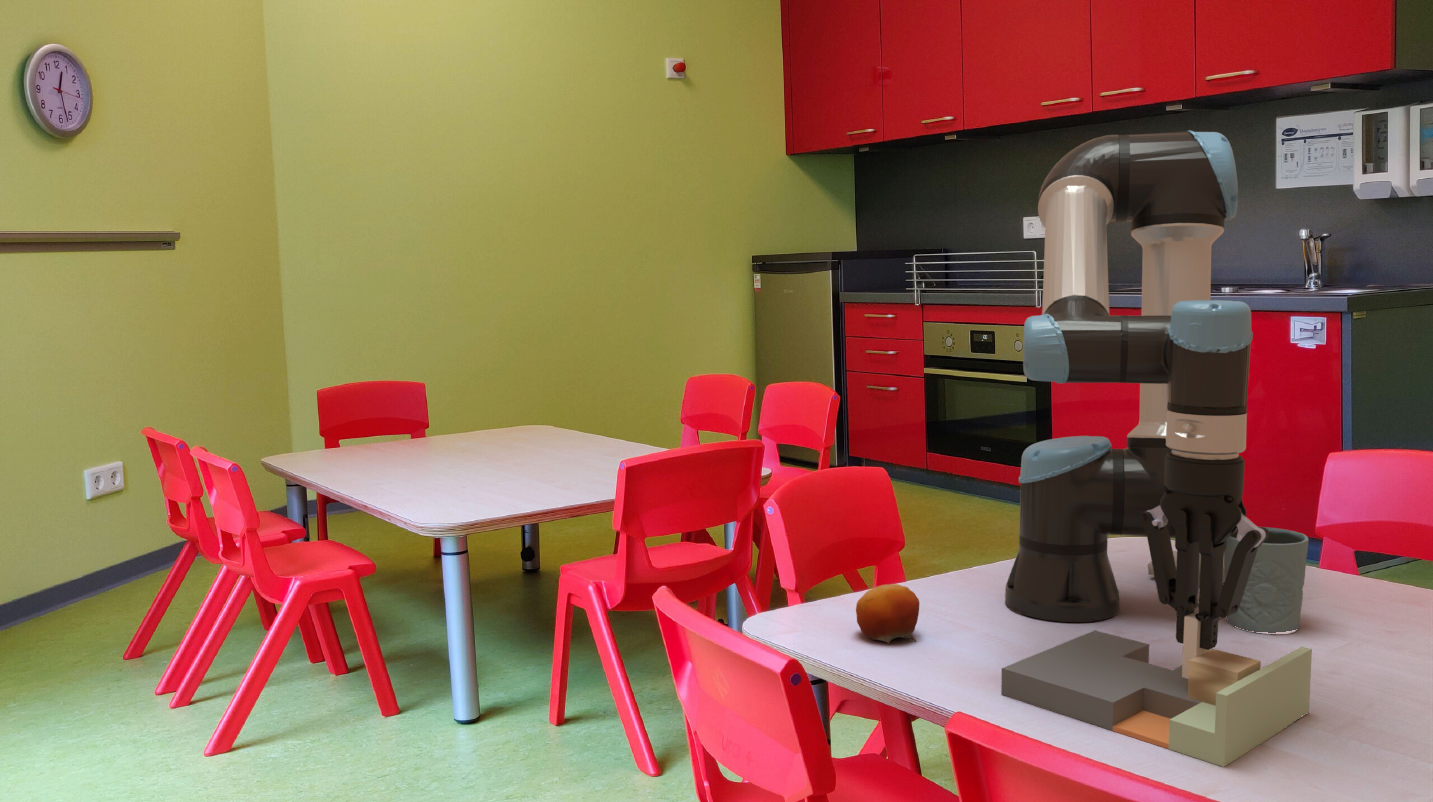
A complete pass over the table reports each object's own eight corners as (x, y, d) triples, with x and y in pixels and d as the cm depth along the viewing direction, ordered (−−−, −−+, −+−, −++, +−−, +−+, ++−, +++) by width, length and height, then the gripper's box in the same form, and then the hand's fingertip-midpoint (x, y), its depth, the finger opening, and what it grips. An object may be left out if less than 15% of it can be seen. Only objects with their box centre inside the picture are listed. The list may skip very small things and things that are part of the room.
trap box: (1001, 694, 127) (1002, 633, 127) (1094, 654, 140) (1095, 598, 139) (1223, 766, 109) (1226, 695, 108) (1308, 713, 121) (1311, 648, 120)
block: (1187, 697, 118) (1188, 659, 117) (1211, 685, 121) (1212, 648, 121) (1235, 711, 114) (1237, 672, 114) (1258, 698, 117) (1260, 660, 117)
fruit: (889, 644, 140) (870, 581, 143) (858, 659, 147) (840, 599, 150) (942, 633, 144) (922, 572, 147) (909, 648, 150) (890, 590, 153)
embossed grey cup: (1265, 640, 144) (1269, 547, 142) (1201, 618, 153) (1205, 530, 151) (1322, 629, 148) (1327, 538, 146) (1257, 608, 157) (1261, 522, 155)
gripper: (1126, 449, 119) (1118, 667, 122) (1251, 465, 110) (1240, 702, 113) (1163, 441, 124) (1154, 651, 127) (1286, 456, 115) (1273, 683, 118)
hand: (1194, 675), depth 120 cm, fingers closed
